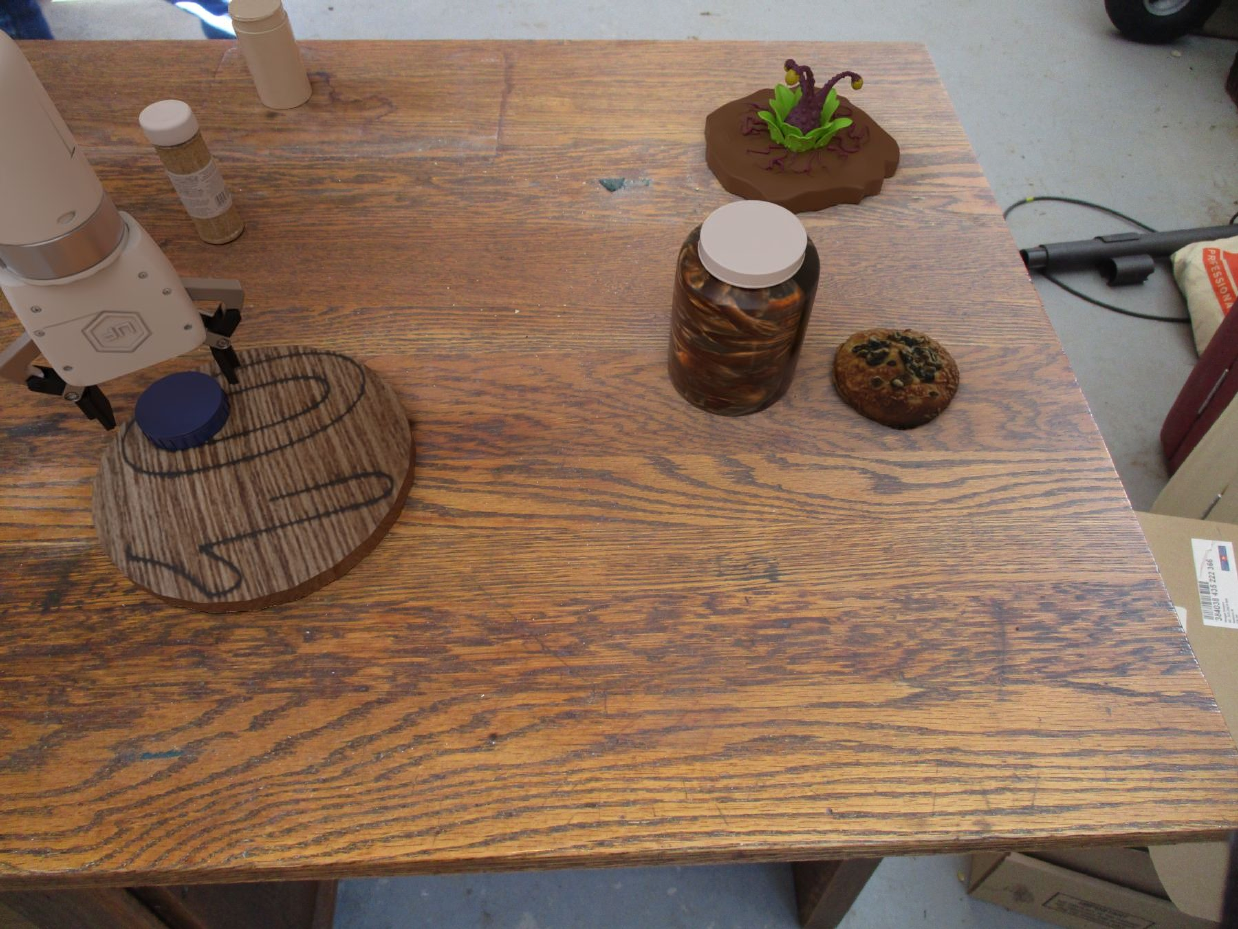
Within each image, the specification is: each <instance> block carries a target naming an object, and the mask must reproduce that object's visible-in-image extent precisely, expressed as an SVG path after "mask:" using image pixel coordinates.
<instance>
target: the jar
mask: <svg viewBox="0 0 1238 929" xmlns="http://www.w3.org/2000/svg"><path fill="white" fill-rule="evenodd" d="M806 231H807V230H806V228H805V226H804V223H802V221H801V220H800V219H799V218H798V216H797V215H795V213H794V214H793V213H792V212H790V211H788V210H787V209H785V208H783V207H781V206H779V205H776V204H773V203H770V202H765V201H759V200H747V199H745V200H737V201H733V202H730V203H726V204H724V205H722V206H720V207H718V208H716V209H715V210H713V211H712V212H710V214H709V215H708V216H707V217H706V218H705V220H704V221H703V222H701V223H700V224H698V225H697V226H696V227H694V229H692V230H691V231H690V233H689V234H688V235H687V236H686V238H685V239H684V241H683V242H682V244H681V247H680V249H679V253H678V256H677V260H676V266H675V273H674V279H673V280H674V281H673V288H672V289H673V290H672V301H671V311H670V321H669V322H670V324H669V335H668V336H669V338H668V349H667V370H668V375H669V378H670V381H671V384H672V385H673V387H674V388H675V390H676V392H678V394H679V395H680V397H682V398H683V399H684V400H686V401H687V403H689V404H691V405H693V406H695V407H696V408H698V409H700V410H702V411H704V412H707V413H711V414H714V415H719V416H728V417H738V416H746V415H751V414H755V413H759V412H761V411H764V410H766V409H768V408H770V407H771V406H773V405H774V404H776V403H777V402H778V401H780V399H781V398H782V397H784V395H785V394H786V392H787V391H788V390H789V388H790V386H791V384H792V382H793V380H794V376H795V373H796V369H797V366H798V363H799V359H800V356H801V352H802V348H803V345H804V341H805V339H806V334H807V332H808V331H807V330H808V327H809V323H810V319H811V315H812V313H813V309H814V305H815V304H814V303H815V299H816V297H817V292H818V288H819V283H820V282H819V281H820V277H821V276H820V274H821V259H820V255H819V252H818V249H817V247H816V245H815V243H814V241H813V240H812V239H811V238H810V236H809V235H808V234H807V232H806Z"/></svg>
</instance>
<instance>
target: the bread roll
mask: <svg viewBox="0 0 1238 929" xmlns="http://www.w3.org/2000/svg"><path fill="white" fill-rule="evenodd" d="M832 367H833V369H832V374H831V378H832V381H833V383H834V385H835V389H836V392H837V393H838V394H839V396H841V398H842V399H843V401H844V402H845V403H846V404H848V405H849V406H851V407H852V408H853V409H854V410H856V411H857V413H859V414H861V415H863V416H864V417H866V418H868V419H870V420H871V421H874V422H877V423H879V424H881V425H883V426H886V427H887V428H891V429H892V430H898V431H906V430H914V429H917V428H919V427H921V426H924V425H928V424H929V423H930V422H932V421H933V420H935V419H937V417H939V416H940V415H941V414H942V413H943V412H944V411H945V410H946V409H947V408H948V406H949V405H950V404H951V403H952V401H953V400H954V398H955V396H956V394H957V391H958V389H959V385H960V379H961V377H960V371H959V366H958V364H957V362H956V360H955V358H953V357H952V355H951V353H950V352H949V351H948V350H947V349H946V348H945V347H944V346H942V345H941V344H940V343H939V341H937V340H935V339H933V338H932V337H931V336H929V335H927V334H926V333H924V332H919V331H917V330H914V329H912V328H909V327H908V328H906V329H898V328H897V329H896V328H886V327H875V328H871V329H866V330H863V331H858V332H855V333H852V335H851V336H849V337H848V338H847V339H846V341H845V342H844V341H843V342H841V343H840V345H839V346H838V347H837V352H836V354H835V357H834V359H833V361H832Z"/></svg>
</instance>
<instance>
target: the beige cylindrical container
mask: <svg viewBox="0 0 1238 929" xmlns="http://www.w3.org/2000/svg"><path fill="white" fill-rule="evenodd" d="M227 13H228V16H229V17H230V19H231V26H232V30H233V31H234V34H235V37H236V39H237V42H238V45H239V47H240V49H241V53H242V55H243V58H244V60H245V63H246V65H247V68H248V71H249V73H250V76H251V78H252V81H253V83H254V86H255V89H256V92H257V94H258V97H259V99H260V102H261V103H262V104H263V105H264V106H265V107H267V108H269V109H272V110H289V109H294V108H297V107H300V106H302V105H304V104H305V103H306V102H307V101H309V100H310V98H311V97H312V95H313V89H312V85H311V82H310V80H309V76H308V72H307V70H306V67H305V64H304V61H303V57H302V55H301V52H300V48H299V45H298V42H297V39H296V36H295V33H294V29H293V27H292V24H291V23H292V22H291V21H290V18H289V14H288V13H287V11H286V10H285V8H284V4H283V2H282V0H230V2H229V3H228V5H227Z"/></svg>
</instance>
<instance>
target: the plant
mask: <svg viewBox="0 0 1238 929" xmlns="http://www.w3.org/2000/svg"><path fill="white" fill-rule="evenodd" d="M783 63H784V64H783V70H784V71H785V72H786V73H785V76H784V81H785V83H786V85H783V84H782V83H779V82H778V83H777V84H776V85H775V86H774V88H767V87H765V88H762V89H759V90H756V91H755V92H753V93H751V94H749V95H746V96H744V97H740V98H738V99H734V100H732V101H729V102H727V103H725V104H723V105H721V106H719V107H718V108H716V109H715V110H713V111H712V112H710V113H709V114H707V116H706V117H705V125H704V138H705V142H706V147H705V161H706V163H707V164H706V165H707V166H708V168H709V170H710V171H711V173H713V175H714V176H715V178H717V180H718V181H719V183H720V184H721V186H722V187H723V188H724V189H725V190H726V191H727V192H729V193H732V194H734V195H738V196H740V197H743V198H744V199H745V200H759V201H765V202H770V203H773V204H776V205H779V206H781V207H783V208H785V209H787V210H788V211H790V212H792V213H793V214H794V215H795V214H798V213H802V212H816V211H821V210H824V209H827V208H831V207H833V206H836V205H838V204H844V203H845V204H858V205H859V204H860V203H861V201H862V200H863V198H866V197H869V196H877V195H878V194H880V192H881V190H882V186H883V183H884V180H885V178H889V177H893V176H894V175H895V174H896V172H897V170H898V167H899V164H900V160H901V151H900V147H899V144H898V142H897V140H896V139H895V138H894V137H893V136H892V135H890V134H889V133H888V132H887V131H886V130H885V129H884V128H883V127H881V125H879V124H878V123H877V122H876V121H875V120H874V119H873V118H872V116H870V115H869V114H868V113H867V112H866V111H864V110H863V109H861V108H860V107H858V106H857V105H855V104H853V103H852V102H851V101H850V99H849V98H847V97H846V96H843V95H839V94H838V93H837V89H836V88H835V87H834V86H835V85H836V84H837V83H838V82H839V81H840V80H842V79H845V78H846V77H850V86H851V88H852V89H853V90H854V91H859V90H861V89H862V88H863V86H864V79H863V77H862V76H861V75H860V74H858V73H857V72H853V71H851V70H846V71H842V72H840V73H836V75H835V76H832V77H831V79H828V80H827V83H824V84H823V86H822V87H818V86H815V84H816V79H815V78H814V76H815V75H814V72H813V71H812V69H811V66H809V65H805V64H804V65H803V64H802V65H799V64H798V63H797V61H796V60H794V59H793V58H788V59H786V60H785V61H784V62H783ZM804 73H805V74H804ZM788 86H791V87H788Z"/></svg>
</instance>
